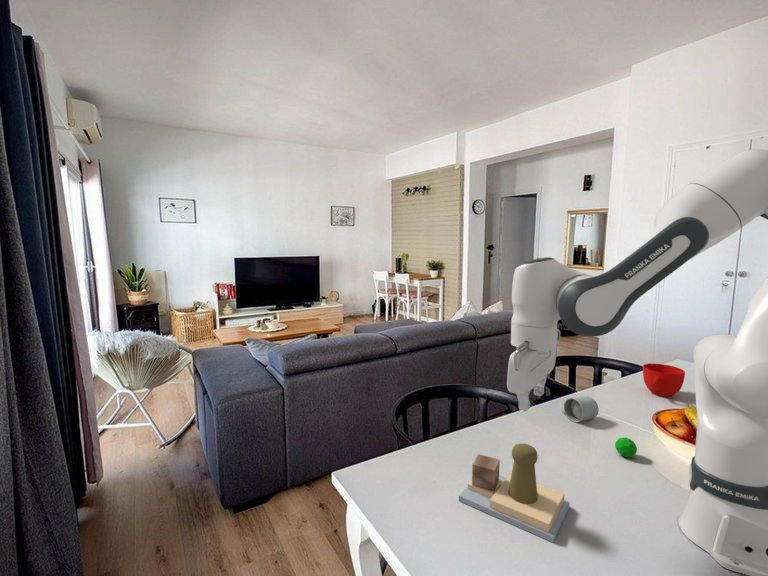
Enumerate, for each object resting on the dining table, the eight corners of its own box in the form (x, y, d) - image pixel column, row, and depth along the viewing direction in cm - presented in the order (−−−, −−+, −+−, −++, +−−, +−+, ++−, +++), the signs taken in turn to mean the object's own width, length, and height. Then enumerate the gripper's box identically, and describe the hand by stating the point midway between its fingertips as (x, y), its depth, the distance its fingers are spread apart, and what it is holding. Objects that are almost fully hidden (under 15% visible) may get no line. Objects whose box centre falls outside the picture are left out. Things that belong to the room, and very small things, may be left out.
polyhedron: (636, 454, 106) (637, 437, 105) (636, 462, 102) (637, 445, 101) (615, 449, 109) (616, 432, 108) (614, 457, 104) (615, 440, 104)
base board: (569, 506, 85) (569, 493, 84) (552, 542, 75) (553, 528, 74) (482, 473, 97) (483, 462, 97) (458, 500, 87) (458, 488, 86)
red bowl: (633, 396, 146) (635, 370, 145) (646, 385, 157) (648, 361, 156) (675, 407, 136) (678, 379, 135) (686, 394, 148) (688, 368, 146)
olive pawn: (540, 505, 81) (543, 455, 79) (510, 502, 82) (512, 453, 80) (534, 487, 87) (536, 440, 85) (506, 485, 88) (507, 438, 86)
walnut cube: (499, 479, 91) (499, 459, 90) (494, 491, 86) (495, 470, 86) (477, 473, 93) (478, 454, 92) (472, 485, 88) (472, 464, 88)
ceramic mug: (600, 421, 125) (601, 398, 125) (582, 426, 122) (583, 402, 121) (572, 409, 135) (573, 387, 134) (555, 413, 132) (555, 391, 131)
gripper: (533, 350, 70) (531, 424, 71) (562, 330, 86) (560, 390, 87) (499, 345, 74) (498, 415, 75) (533, 326, 90) (531, 384, 91)
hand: (531, 401), depth 81 cm, fingers open, 8 cm apart
